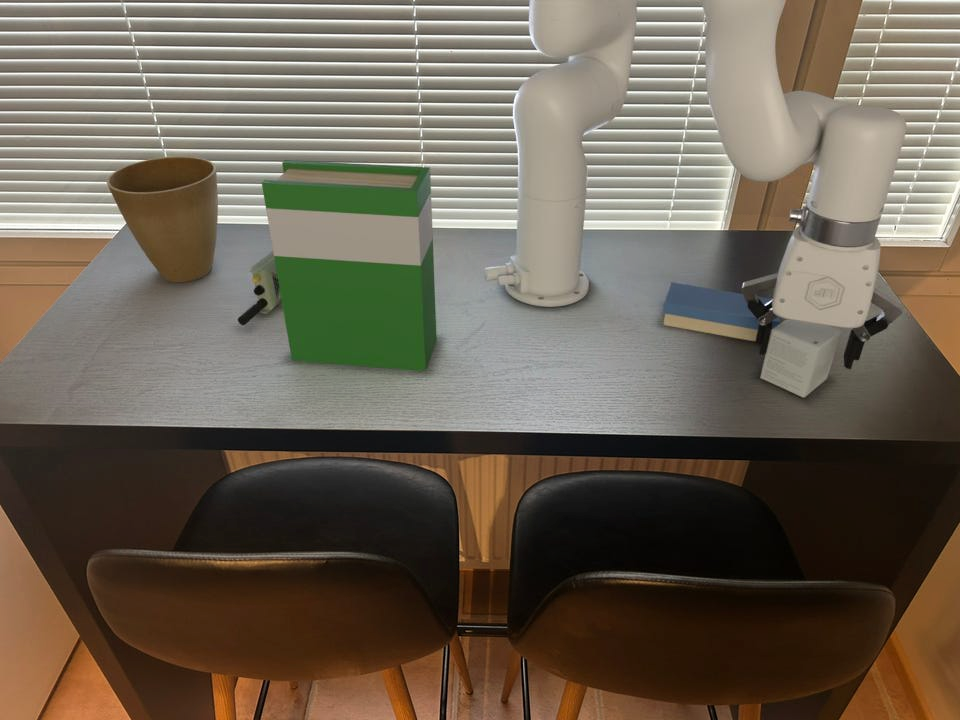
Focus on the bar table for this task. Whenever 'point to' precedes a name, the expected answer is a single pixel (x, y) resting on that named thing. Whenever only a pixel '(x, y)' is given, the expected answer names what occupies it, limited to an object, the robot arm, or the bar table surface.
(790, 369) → the product box
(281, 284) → the hardback book
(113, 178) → the plant pot
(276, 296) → the handheld radio
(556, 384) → the bar table surface
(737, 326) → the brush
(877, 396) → the bar table surface
